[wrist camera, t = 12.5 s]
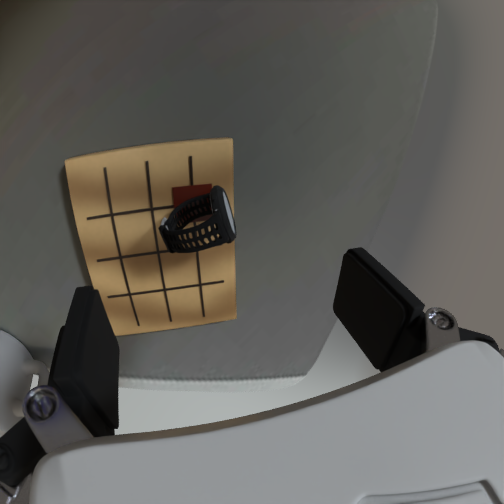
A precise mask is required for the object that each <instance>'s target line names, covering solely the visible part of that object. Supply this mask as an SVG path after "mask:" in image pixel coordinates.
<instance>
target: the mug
mask: <svg viewBox="0 0 504 504" xmlns="http://www.w3.org/2000/svg"><path fill="white" fill-rule="evenodd" d="M33 374H39V381H38V386H41V385H47V384H48V378H49V372H48V369H47V367H46V365H45V364H44V363H43V362H41V361H39V360H33V358H32V356H31V354H30V353H29V351H28V350H27V349H26V348H25V346H24V345H23V344H22V343H21V342H19V341H18V340H17V339H16V338H14V337H13V336H11V335H10V334H8V333H6V332H4V331H2V330H0V437H1V436H3V435H4V434H5V433H6V432H7V431H8V430H9V429H11V428H12V427H13V426H14V425H15V424H16V423H17V422H18V421H20V420H21V419H22V418H23V417H24V414H23V411H22V404H23V400H24V398H25V396H26V395H27V393H28V392H29V391H30V387H31V383H32V377H33Z"/></svg>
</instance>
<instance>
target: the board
mask: <svg viewBox="0 0 504 504" xmlns="http://www.w3.org/2000/svg"><path fill="white" fill-rule="evenodd" d="M65 167H66V174H67V180H68V186H69V192H70V197H71V202H72V207H73V212H74V217H75V221H76V226H77V230H78V234H79V238H80V242H81V246H82V250H83V253H84V257H85V260H86V264H87V267H88V271H89V274H90V277H91V281H92V284H93V287H94V289H98V291H99V293H100V296H101V299H102V302H103V305H104V308H105V310H106V313H107V316H108V319H109V321H110V324H111V326H112V329H113V332H114V334H115V336H120V335H129V334H137V333H145V332H153V331H161V330H168V329H175V328H182V327H189V326H195V325H202V324H208V323H214V322H220V321H226V320H232V319H236V318H237V315H236V282H235V242H234V241H233V242H232V243H229V244H227V243H224V244H221V245H218V246H215V247H212V248H208V249H205V250H202V251H198V252H193V253H176V252H175V253H173V254H172V253H170V252H169V251H168V250H167V248H166V245H165V243H164V241H163V239H162V237H161V234H160V232H159V229H158V228H159V226H160V225H161V222H162V219H163V218H164V217H165V218H166V219H168V217H169V215H170V214H171V212H172V211H173V210H174V209H175V208H176V207H177V206H179V205H180V204H181V203H183V202H185V201H186V200H189V199H191V198H193V197H197V196H200V195H204V194H207V193H210V190H211V189H212V188H213V186H216V185H219V186H220V187H222V188H224V190H225V192H226V194H227V196H228V199H229V202H230V206H231V209H232V213H233V217H234V184H233V139H231V138H229V137H226V138H209V139H195V140H183V141H173V142H164V143H155V144H147V145H139V146H132V147H125V148H119V149H113V150H107V151H101V152H96V153H90V154H85V155H80V156H75V157H71V158H68V159H67V160H65ZM206 199H207V202H208V203H209V201H208V198H206ZM201 201H202V204H204V201H203V199H201ZM196 203H197V205H199V201H198V200H197V201H196ZM194 206H195V205H194V202H192V207H194ZM184 208H185V211H186V206H185V207H184ZM188 208H189V209H190V204H188ZM209 208H210V206H209ZM204 209H205V211H207V209H206V207H204ZM210 210H212V209H211V208H210ZM199 211H200V213H202V210H201V209H200V208H199ZM194 212H195V214H196V215H197V214H198V212H197V211H196V210H194ZM182 213H183V208H182ZM176 214H177V213H176ZM179 214H180V210H179ZM190 214H191V216H194V214H193V213H192V212H190ZM180 215H181V214H180ZM212 215H213V214H211V215H206V216H203V217H200V218H197V219H195V220H193V221H192V222H190V223H189V224H188V225H187V226H185V227H184V228H183V229H187V228H190V227H194V226H197V225H199V224H201V223H203V222H205V221H206V220H208V219H209V218H210V217H211V216H212ZM187 216H188V218H190V216H189V214H187ZM174 217H175V216H174ZM177 218H178V215H177ZM184 218H185V220H187V219H186V217H185V216H184ZM182 221H183V219H182ZM179 223H180V224H181V222H180V221H179ZM183 223H184V221H183ZM177 225H178V224H177ZM214 226H215V224H214ZM178 227H179V226H178ZM215 228H216V227H215ZM208 230H209V232H210V231H211V229H210V226H209V227H208ZM201 231H202V234H203V235H204V234H205V231H204V229H202V230H201ZM195 235H196V237H198V236H199V234H198V231H195ZM217 236H218V237H219V234H217ZM189 237H190V238H191V239H192V234H191V233H189ZM179 238H180V239H181V236H180V235H179ZM184 238H185V239H186V240H187V238H186V234H184ZM211 239H212V240H213V241H214V239H215V238H214V237H213V236H211ZM204 241H205V242H206V243H209V241H208V239H207V238H205V239H204ZM198 243H199V244H200V246H202V245H203V244H202V243H201V242H200V241H198ZM192 244H193V246H194V247H197V246H196V245H195V243H194V242H192ZM182 245H183V244H182ZM187 245H188V247H189V248H191V247H190V245H189V244H188V243H187ZM183 246H184V245H183ZM179 247H180V246H179ZM184 248H185V246H184ZM185 249H186V248H185Z"/></svg>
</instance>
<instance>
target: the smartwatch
mask: <svg viewBox="0 0 504 504" xmlns="http://www.w3.org/2000/svg"><path fill="white" fill-rule="evenodd" d="M206 198H208V201H209V203H208V202H207V199H206ZM201 199H203V201H204V204H202V201H201ZM197 200H198V201H199V205H197V203H196V201H197ZM192 202H194V205H195V206H194V207H192ZM188 204H190V209H189V208H188ZM185 206H186V211H185V208H184V207H185ZM209 206H210V208H211V209H212V210H210V208H209ZM204 207H206V209H207V211H205V209H204ZM182 208H183V213H182ZM199 208H200V209H201V210H202V213H200V211H199ZM179 210H180V214H181V215H180V214H179ZM194 210H196V211H197V212H198V214H197V215H196V214H195V212H194ZM190 212H192V213H193V214H194V216H191V214H190ZM176 213H177V214H176ZM187 214H189V216H190V218H188V216H187ZM211 214H213V215H212V216H211V217H210V218H209V219H208V220H206V221H205V222H203V223H201V224H199V225H197V226H194V227H190V228H187V229H183V228H184V227H185V226H187V225H188V224H189V223H190V222H192V221H193V220H195V219H197V218H200V217H203V216H206V215H211ZM177 215H178V218H177ZM174 216H175V217H174ZM184 216H185V217H186V219H187V220H185V218H184ZM182 219H183V221H184V223H183V221H182ZM179 221H180V222H181V224H180V223H179ZM177 224H178V225H177ZM214 224H215V226H214ZM178 226H179V227H178ZM209 226H210V229H211V231H210V232H209V230H208V227H209ZM215 227H216V228H215ZM158 229H159V232H160V234H161V237H162V239H163V241H164V243H165V245H166V248H167V250H168V251H169V252H170V253H172V254H173V253H175V252H176V253H193V252H198V251H202V250H205V249H208V248H212V247H215V246H218V245H221V244H224V243H227V244H229V243H232V242H233V241H234V239H235V238H236V235H237V234H236V226H235V221H234V217H233V213H232V209H231V206H230V202H229V199H228V196H227V194H226V192H225V190H224V188H222V187H220V186H219V185H216V186H213V188H212V189H211V190H210V193H207V194H204V195H200V196H197V197H193V198H191V199H189V200H186V201H185V202H183V203H181V204H180V205H179V206H177V207H176V208H175V209H174V210H173V211H172V212H171V214H170V215H169V217H168V219H166V218H165V217H164V218H163V219H162V222H161V225H160V226H159V228H158ZM202 229H204V231H205V234H204V235H203V234H202V231H201V230H202ZM195 231H198V234H199V236H198V237H196V235H195ZM189 233H191V234H192V239H191V238H190V237H189ZM184 234H186V238H187V240H186V239H185V238H184ZM217 234H219V237H218V236H217ZM179 235H180V236H181V239H180V238H179ZM211 236H213V237H214V238H215V239H214V241H213V240H212V239H211ZM205 238H207V239H208V241H209V243H206V242H205V241H204V239H205ZM198 241H200V242H201V243H202V244H203V245H202V246H200V244H199V243H198ZM192 242H194V243H195V245H196V246H197V247H194V246H193V244H192ZM187 243H188V244H189V245H190V247H191V248H189V247H188V245H187ZM182 244H183V245H184V246H185V248H186V249H185V248H184V246H183V245H182ZM179 246H180V247H179Z"/></svg>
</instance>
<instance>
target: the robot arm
mask: <svg viewBox="0 0 504 504" xmlns="http://www.w3.org/2000/svg"><path fill="white" fill-rule="evenodd" d="M424 306H425V305H424V304H423V303H422V302H421V301H420V300H419V299H418V298H417V297H416V296H415V295H414V294H413V293H412V292H411V291H410V290H408V288H407V287H405V286H404V285H403V284H402V283H401V282H400V281H399V280H398V279H397V278H396V277H395V276H394V275H392V274H391V273H390V272H389V271H388V270H387V269H386V268H385V267H384V266H383V265H381V264H380V263H379V262H378V261H377V260H376V259H375V258H374V257H372V256H371V255H370V254H369V253H368V252H367V251H366V250H364V249H363V248H353V249H349V250H348V251H347V252H346V253H345V254H344V256H343V261H342V266H341V271H340V276H339V280H338V285H337V290H336V294H335V299H334V303H333V310H334V313H335V314H336V316H337V317H338V318H339V320H340V321H341V322H342V324H343V325H344V326H345V328H346V329H347V331H348V332H349V333H350V335H351V336H352V337H353V339H354V340H355V341H356V343H357V344H358V345H359V347H360V348H361V350H362V351H363V352H364V354H365V355H366V356H367V358H368V359H369V360H370V362H371V363H372V365H373V366H374V367H375V368H376V369H379V370H380V372H381V373H379V374H376V375H374V376H371V377H369V378H366V379H364V380H361V381H359V382H356V383H353V384H351V385H348V386H346V387H343V388H340V389H337V390H334V391H331V392H328V393H325V394H323V395H320V396H317V397H313V398H310V399H307V400H304V401H301V402H297V403H294V404H291V405H287V406H283V407H280V408H276V409H272V410H269V411H264V412H260V413H256V414H252V415H248V416H243V417H239V418H235V419H229V420H224V421H219V422H214V423H209V424H202V425H197V426H190V427H183V428H176V429H168V430H161V431H153V432H143V433H132V434H123V435H115V433H114V429H118V427H119V416H118V377H119V345H118V342H117V339H116V337H115V334H114V332H113V329H112V326H111V324H110V321H109V319H108V316H107V313H106V310H105V308H104V305H103V302H102V299H101V296H100V293H99V291H98V289H94V288H93V287H92V286H84V287H77V288H76V290H75V294H74V297H73V300H72V303H71V306H70V310H69V313H68V317H67V320H66V324H65V326H62V327H61V329H60V332H59V336H58V339H57V343H56V347H55V351H54V356H53V360H52V364H51V369H50V374H49V378H48V384H47V385H41V386H37V387H35V388H33V389H31V390H30V391H29V392H28V393H27V395H26V396H25V398H24V400H23V404H22V411H23V414H24V417H23V418H22V419H21V420H20V421H18V422H17V423H16V424H15V425H14V426H13V427H12V428H11V429H9V430H8V431H7V432H6V433H5V434H4V435H3V436H1V437H0V504H504V350H503V349H500V351H499V348H498V345H497V343H496V342H495V340H494V339H493V338H492V337H490V336H487V335H485V334H481V333H477V332H474V331H470V330H467V329H462V328H459V327H458V324H457V321H456V319H455V317H454V316H453V315H452V314H451V313H450V312H448V311H447V310H445V309H442V308H437V307H434V308H430V309H428V310H427V311H426V313H424V312H423V309H424Z"/></svg>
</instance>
